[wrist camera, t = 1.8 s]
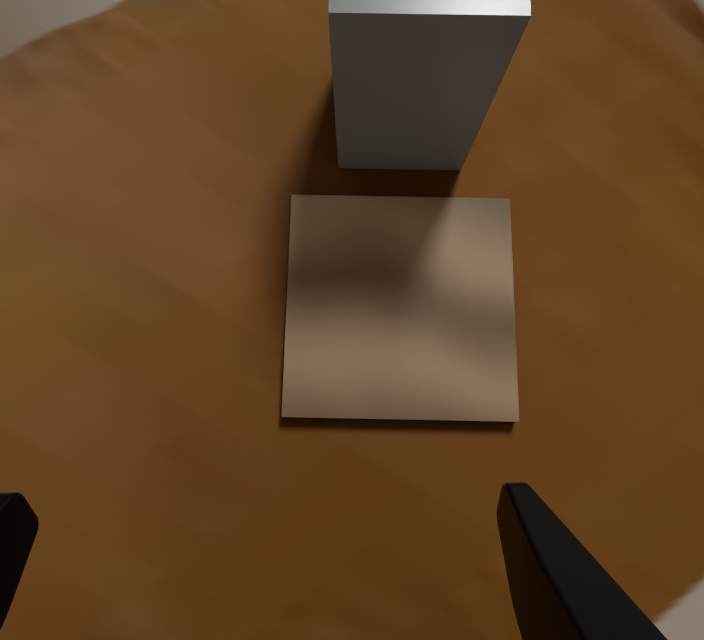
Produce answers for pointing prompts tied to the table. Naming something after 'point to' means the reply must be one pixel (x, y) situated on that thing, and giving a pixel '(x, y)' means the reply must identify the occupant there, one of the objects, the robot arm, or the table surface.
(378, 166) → the sharp-edged grey box
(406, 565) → the table surface
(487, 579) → the table surface
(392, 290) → the light tan board
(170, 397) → the table surface
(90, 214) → the table surface
